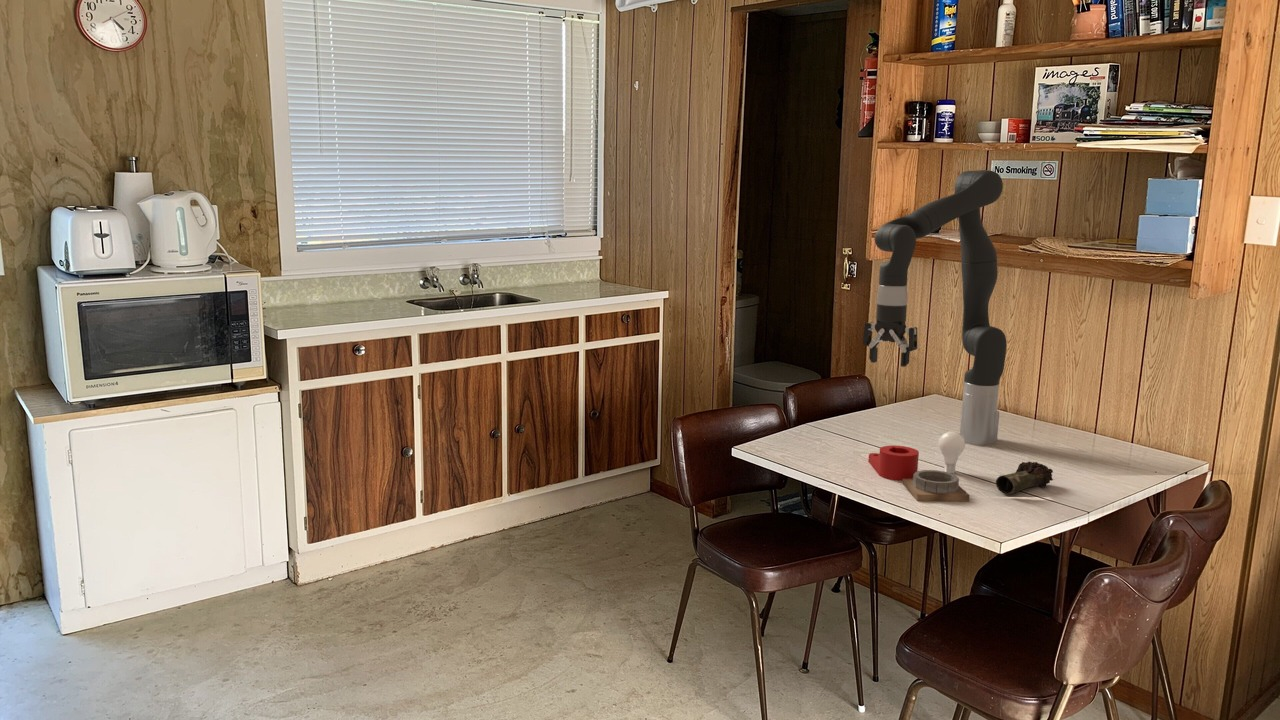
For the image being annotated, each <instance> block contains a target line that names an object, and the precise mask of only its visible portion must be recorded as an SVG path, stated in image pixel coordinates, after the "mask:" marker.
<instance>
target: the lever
mask: <svg viewBox="0 0 1280 720" xmlns="http://www.w3.org/2000/svg"><path fill="white" fill-rule="evenodd" d="M919 454H920V451H919V450H918V449H916V448H913V447H911V446H903V445H884V446H882V447H880V448H879V453H877V452H871V453H868V458H867V459H868V464H870V466H871V468H872V469H873V470H874V471H875V472H876V474H877V475H878V476H879V477H880V478H883V479H885V480H890V481H896V482H897V481H898V482H901V481H902V482H903V479H913V474H914V473H915V472H917V471H919V469H918V468H919V456H920V455H919Z"/></svg>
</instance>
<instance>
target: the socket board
mask: <svg viewBox="0 0 1280 720" xmlns="http://www.w3.org/2000/svg"><path fill="white" fill-rule="evenodd" d="M959 482H960V478H959V477H958V476H957V475H955V473H948V472H944V470H943V471H941V470H936V469H935V470H934V469H933V470H932V469H923V470H918V471H917V472H915V473H914V474H913V479H903V481H902V483H901V484H902V485H903V486H904V488H906V490H907V492H909V493H910V494H911V496H912V497H913V499H915V500H916V501H917V502H919V501H920V502H970V494H969V493H968V492H967V491H966V490H964V489H963V487H961V485H959Z"/></svg>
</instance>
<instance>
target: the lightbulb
mask: <svg viewBox="0 0 1280 720" xmlns="http://www.w3.org/2000/svg"><path fill="white" fill-rule="evenodd" d="M938 448H939V450H940V452H941V454H942V457H943V461H944V468H943V472H948V473H951V474H955V473H956V465H957V462H958V460H959V457H960V456H961V455H962V453H963V452H964V450H965V448H966V443H965V440H964V438H963V437H962V435H960V432H957V431H953V430H949V431H947V432H944V433H943V434H942V435H940V437H939V439H938Z"/></svg>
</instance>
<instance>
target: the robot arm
mask: <svg viewBox="0 0 1280 720" xmlns="http://www.w3.org/2000/svg"><path fill="white" fill-rule="evenodd" d="M954 183H955V184H954V193H952V194H950V195H948V196H944V197H942V198H938V199H935V200H933V201H931V202H929V203H926V204H924V205H922V206H921V207H919V208H917V209H915V210H914V211H912V212H911V213H910V214H908V215H904V216H900V217H898V218H895V219H892V220H890V221H888V222H885V223H884V224H882V225H881V226H880V227H878V229H877V231H876V232H875V236H874V242H875V246H876V247H877V248H878V249H880V250H881V251H883V252H888V253H889V252H890V253H892V254H891V256H890V260H888V261H884V262H882V263H881V264H880V266H879V275H878V277H879V278H878V290H877V293H876V294H877V295H876V296H877V297H876V312H875V313H876V315H875V318H876V322H875V323H874V322H872V321H868V322H865V323H864V325H863V326H864V328H863V335H862V336H863V338H862V345H864V346H866V347H868V348H869V354H868V355H869V357H868V358H869V360H870V363H872V364H873V363H877V362H878V355H879V354H878V350H879V348H878V346H879V345H880V343H881V342H890V343H895V344H896V345H897V346H898V347H899V348H900V350H901V353H900V354H901V355H900V367H903V368H904V367H908V365H909V364H910V355H911V354H910V353H911V352H914V351H916V350H918V327H916V326H913V327H909V326H908V327H907V324H906V322H907V309H908V275H909V272H908V271H909V267H910V265H911V262H912V258H913V255H914V254H915V253H914V252H915V248H916V245H917V239H922V238H925V237H926V236H928V235H930V234H931V233H933V232H935V231H936V230H938V229H940V228H941V227H943V226H944V225H946V224H948V223H949V222H952V221H954V220H955V219H958V220H957V221H958V228H959V229H958V230H959V239H960V261H961V263H960V264H961V266H960V267H961V268H960V269H961V279H962V281H961V282H962V300H963V301H962V302H963V303H962V304H963V315H962V330H961V331H962V333H961V341H962V343H961V344H962V346H963V349H964V350H965V352H966V353H967V354H969V355H970V356H973V357H974V360H973V364H972V367H971V369H967V370H966V371H965V373H964V379H963V391H962V404H961V413H960V414H961V417H960V428H959V434H960V435H962V437H963V438H964V440H965V445H966V444H967V445H972V446H990V445H991V446H992V445H997V444H998V434H999V433H998V432H999V422H1000V421H999V420H1000V411H999V410H998V404H999V403H998V400H999V390H1000V389H999V388H1000V381H1001V380H1000V379H1001V377H1002V376H1003V374H1004V369H1005V363H1006V357H1007V346H1008V344H1007V336H1006V334H1005V332H1004V331H1003V330H1002V329H1000V328H998V327H995V326H991V324H990V319H989V318H990V316H989V303H990V300H991V297H992V294H993V292H994V289H995V287H996V284H997V280H998V275H999V274H998V255H997V250H996V248H995V246H994V244H993V242H992V240H991V238H990V236H989V235H988V233H987V231H986V229H985V227H984V225H983V222H982V218H981V208H983V207H986V206H989V205H992V204H994V203H995V202H997V200H999V198H1001V195H1002V193H1003V188H1004V187H1003V186H1004V183H1003V179H1002V177H1001V175H1000V174H999V173H998V172H996V171H994V170H987V169H983V170H982V169H981V170H980V169H979V170H966V171H962V172H960V174H959V175H958V176H957V177H956V180H955V182H954ZM874 330H875V331H876V335H875V336H874V337H873V331H874ZM905 334H907V336H908V340H907V338H906V337H905Z"/></svg>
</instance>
